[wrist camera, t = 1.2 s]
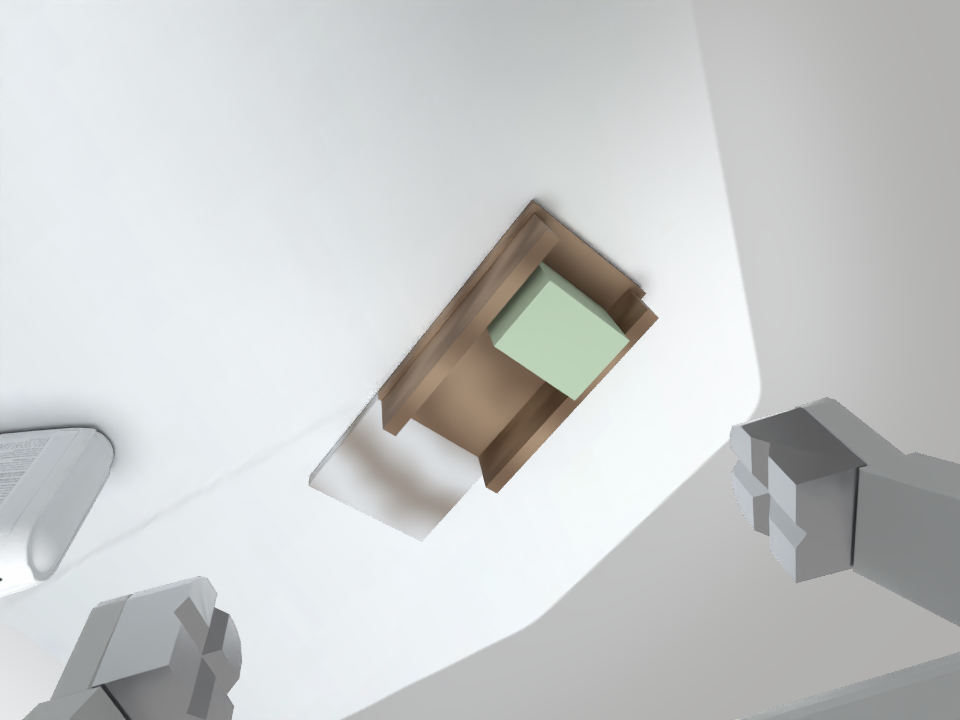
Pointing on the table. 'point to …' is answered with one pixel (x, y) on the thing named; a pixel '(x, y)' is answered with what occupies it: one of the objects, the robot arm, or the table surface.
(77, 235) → the table surface
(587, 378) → the sage block
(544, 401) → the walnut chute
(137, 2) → the table surface
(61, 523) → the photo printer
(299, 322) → the table surface
